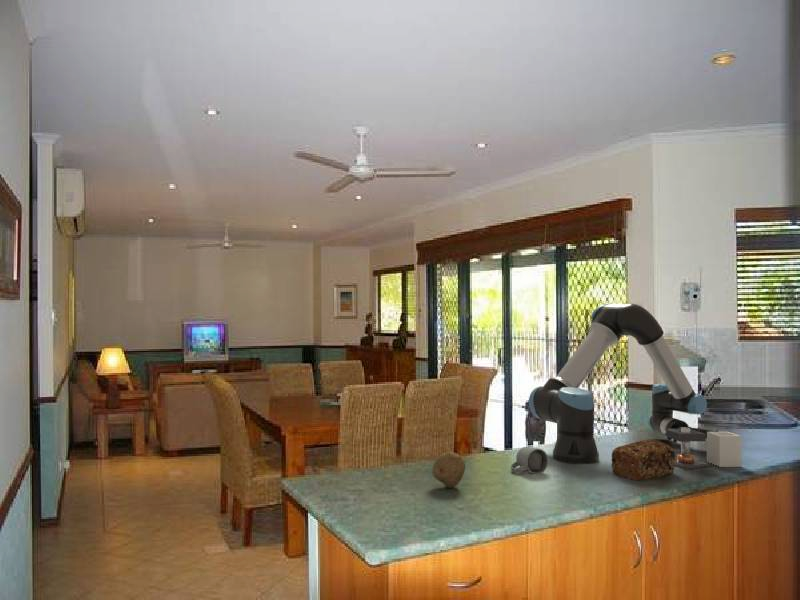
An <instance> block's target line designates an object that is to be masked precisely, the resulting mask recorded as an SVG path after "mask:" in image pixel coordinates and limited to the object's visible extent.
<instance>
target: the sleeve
mask: <svg viewBox="0 0 800 600" xmlns="http://www.w3.org/2000/svg"><path fill="white" fill-rule="evenodd" d="M708 462H709V464H711V463H712V464H711V465H713V464H714V465H713V466H716V465H717V466H716V467H718V466H719V468H739V467H740V468H741V467H742V435H740V434H736V433H733V432H729V431H718V432H707V438H706V463H708Z"/></svg>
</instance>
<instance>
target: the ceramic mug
mask: <svg viewBox="0 0 800 600" xmlns="http://www.w3.org/2000/svg"><path fill="white" fill-rule="evenodd" d="M515 457H516V458H515V459H516V460H515V462H513V463H512V464H511V465H510V467H509V468H510V470H511V473H513V474H518V473H523V472H525V471H527V472H528V473H530V474H531V473H532V474H533V475H539V474H542V473H544V472H545V471H546V469H547V468H548V465H549V456H548V454H547V453H546V451H545V450H544V449H542V448H537V447H532V446H524V447H521V448H520V449H518V451H517V453H516V456H515Z"/></svg>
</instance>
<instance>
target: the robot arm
mask: <svg viewBox="0 0 800 600" xmlns="http://www.w3.org/2000/svg"><path fill="white" fill-rule="evenodd" d="M590 318H591V320H590V325H589V330H590V331H589V333H588V334H587V336H585V338H584V340H583V341H582V342H581V343H580V345H579V346H578V348H577V349H576V350H575V351H574V353H573V354H572V355H571V357H570V358H569V359H568V360H567V361H566V363H565V365H564V366H563V367H562V368H561V369H560V371H559V373H557V375H556V376H555V377H550V378H549V379H548V380H547V381H546V382H545V384H544V385H543V386H542V385H541V386H537V387H535V388H534V389H532V391H531V392H530V395H529V397H528V403H529V404H528V405H529V406H528V407H529V410H530V412H531V414H532V415H533V416H534V417H535V418H537V419H540V420H541V421H544V422H549V423H554V424H557V428H558V430H557V433H558V434H557V437H556V440H555V444H554V448H553V450H552V459H554V460H555V461H558V462H564V463H567V464H568V463H569V464H593V463H597V462H599V461H600V453H599V451H598V447H597V444H596V440H595V437H594V433H595V431H594V430H595V429H594V428H595V400H594V394H593V393H592V392H591V391H589V390H587V389H583V388H580V386H581V385H582V384H583V383H584V381H585V380H586V378H587V377H588V375H589V374H590V373H591V372H592V371H593V369H594V368H595V366H597V363H598V362H599V361H600V360H601V358H602V357H603V356H604V354H605V353H606V351H607V350H608V349H609V347H610V346H613V345H614V346H615V345H616V344H618V342H619V341H620V340H621V339H622V337H623V336H630V337H633V338H634V339H635V340H636V341H637V343H638V345H640V346H643V348H644V350H645V351H646V353H647V355H648V356H649V358H650V360H651V361H652V363H653V365H654V366H655V368H656V370H657V371H658V373H659V375H660V377H661V378H662V380H663V381H664V383H655V384H653V385H652V391H651V392H652V393H651V400H652V401H651V404H652V405H651V406H652V407H651V408H652V411H651V414H650V415H649V417H647V423H646V424H647V426H648V427H649V429H650V430H651V431H652V432H654V433H656V434H658V435H661V436H665V437H666V429H681V427H689V428H690V429H693V430H696V431H699V432H702V433H705V434H706V439H707V432H719V430H718V429H716V430H712V429H711V430H710V429H706V428H701V427H697V428H696V427H692V426H689V424H688V423H687V422H686V421H684V420H681V419H678V418H675V417H674V416H673V415H674V414H673V413H674V412H680V413H683V414H684V413H685V414H688V415H702V414H703V413H704V412H705V411H706V409H707V407H708V403H707V399H706V397H705V396H704V395H702V394H700V393H696V392H695V391H694V389H693V386H692V385H691V383H690V381H689V380H688V377H687V376H686V374H685V373H684V370H683V369H682V368H681V367H682V366H681V365H680V364H679V362H678V361H677V358H676V357H675V355H674V353H673V352H672V350H671V347H670V346H669V345H668V343H667V341H666V339H665V338H664V334H665V333H664V330H663V328H662V326H661V325H660V323H659V321H658V320H657V319H656V318H655V316H653V315H652V313H651V312H650V311H648V309H646V308H645V307H643V306H642V305H639V304H637V303H614V302H613V303H612V302H611V303H603V304H601V305H598V306H597V307H596V308H595V309H594V310H593V312H592V314H591V316H590ZM666 439H667V440H668V441H671V440H673V441H672V442H673V443H677V442H678V441H677V440H674V439H672V438H669V437H666Z"/></svg>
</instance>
